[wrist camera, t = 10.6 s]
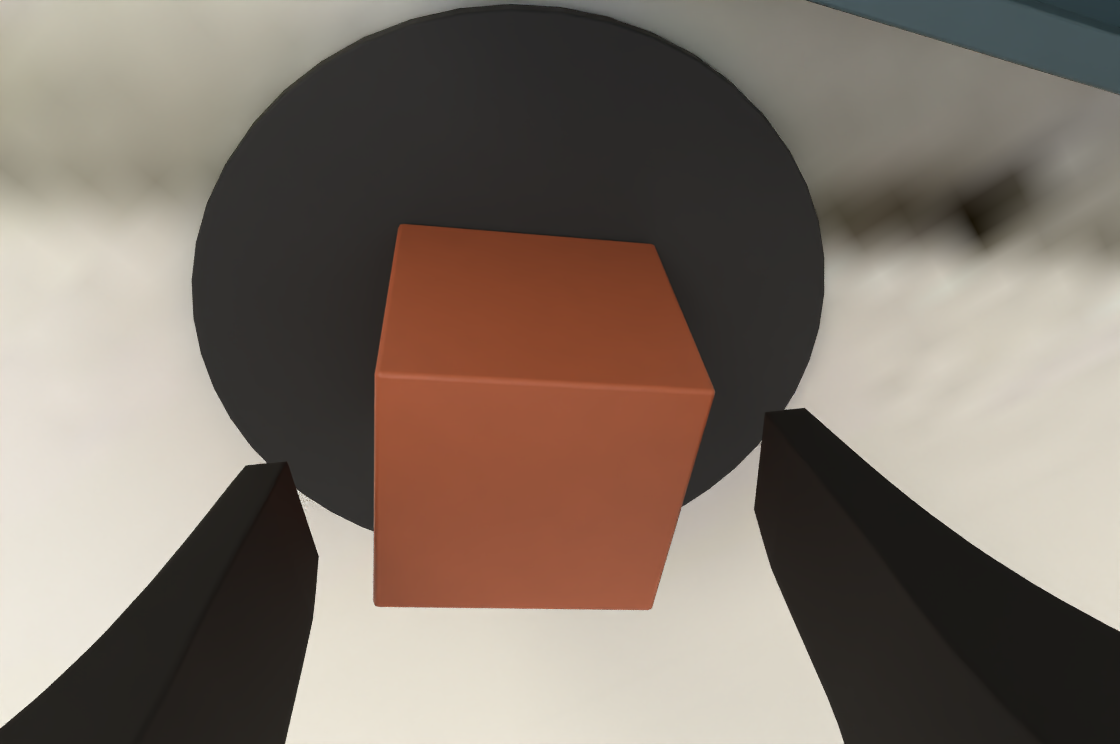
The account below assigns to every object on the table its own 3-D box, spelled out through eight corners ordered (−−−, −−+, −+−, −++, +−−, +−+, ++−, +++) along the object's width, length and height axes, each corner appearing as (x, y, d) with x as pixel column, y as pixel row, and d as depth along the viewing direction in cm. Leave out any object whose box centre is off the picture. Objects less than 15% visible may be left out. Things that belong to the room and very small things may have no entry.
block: (655, 241, 15) (718, 391, 11) (612, 437, 18) (652, 612, 14) (398, 221, 14) (374, 373, 11) (393, 428, 17) (373, 609, 13)
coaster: (932, 106, 14) (943, 114, 14) (692, 569, 21) (695, 581, 20) (209, -95, 12) (202, -93, 11) (189, 507, 18) (184, 520, 18)
